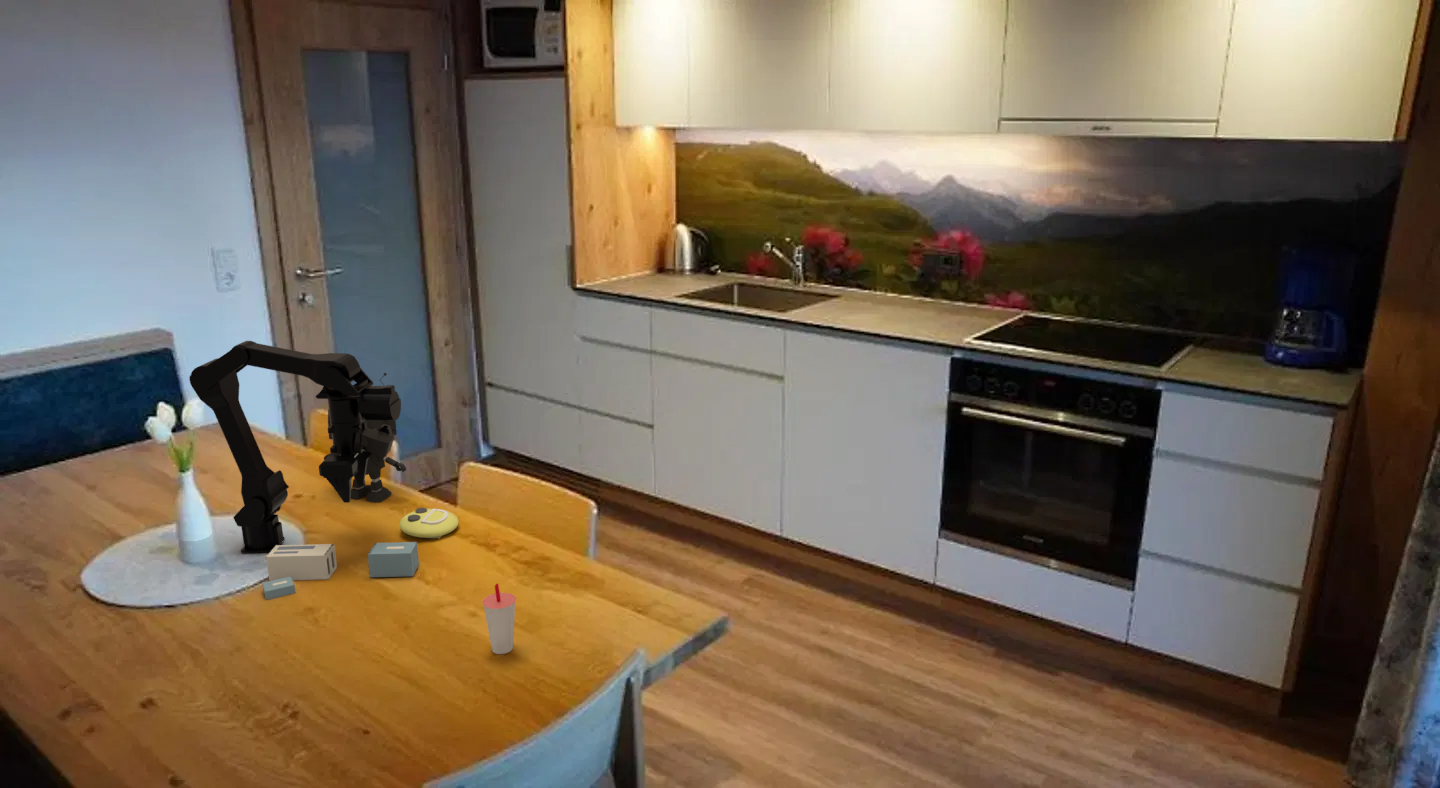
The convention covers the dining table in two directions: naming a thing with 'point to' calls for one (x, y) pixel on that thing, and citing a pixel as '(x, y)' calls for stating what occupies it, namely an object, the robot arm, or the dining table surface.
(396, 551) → the stub
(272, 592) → the torn stub
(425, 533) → the emoji
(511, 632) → the cup
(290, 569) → the block
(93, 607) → the dining table surface
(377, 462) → the toy robot
